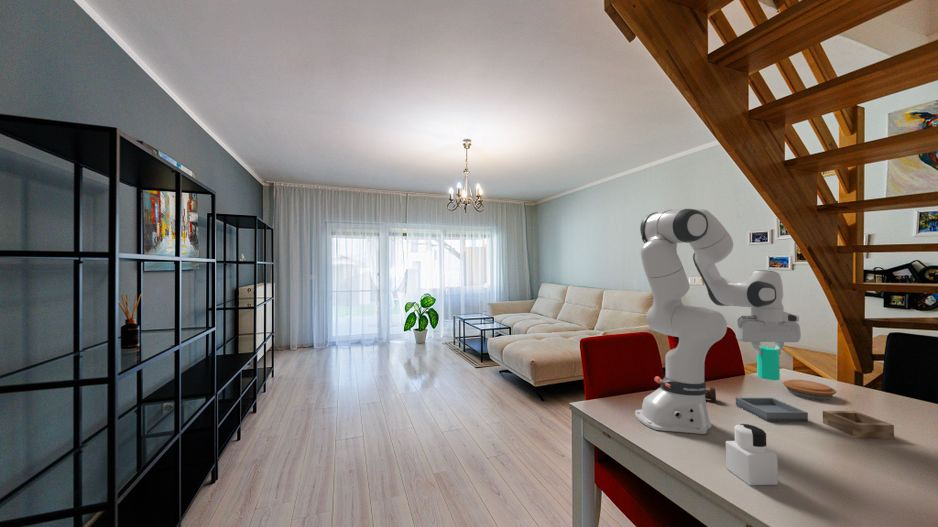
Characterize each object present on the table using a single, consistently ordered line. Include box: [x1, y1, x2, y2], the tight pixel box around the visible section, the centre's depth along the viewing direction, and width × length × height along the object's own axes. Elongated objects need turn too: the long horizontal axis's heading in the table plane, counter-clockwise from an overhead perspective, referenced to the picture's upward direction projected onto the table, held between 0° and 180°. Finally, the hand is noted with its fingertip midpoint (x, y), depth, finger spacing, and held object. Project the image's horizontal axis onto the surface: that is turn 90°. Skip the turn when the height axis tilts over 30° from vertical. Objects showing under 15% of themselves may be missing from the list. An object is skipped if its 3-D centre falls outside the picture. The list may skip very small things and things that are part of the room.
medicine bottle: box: [725, 423, 779, 486], centre depth 83 cm, size 7×7×12 cm
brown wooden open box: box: [822, 410, 895, 440], centre depth 107 cm, size 10×10×4 cm
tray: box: [735, 397, 809, 423], centre depth 120 cm, size 14×14×3 cm
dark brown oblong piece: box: [705, 386, 717, 403], centre depth 136 cm, size 6×5×15 cm
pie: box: [782, 379, 837, 401], centre depth 138 cm, size 16×16×5 cm
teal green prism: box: [756, 343, 781, 381], centre depth 121 cm, size 6×6×12 cm
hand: (768, 354), depth 121 cm, fingers closed on teal green prism, 5 cm apart
